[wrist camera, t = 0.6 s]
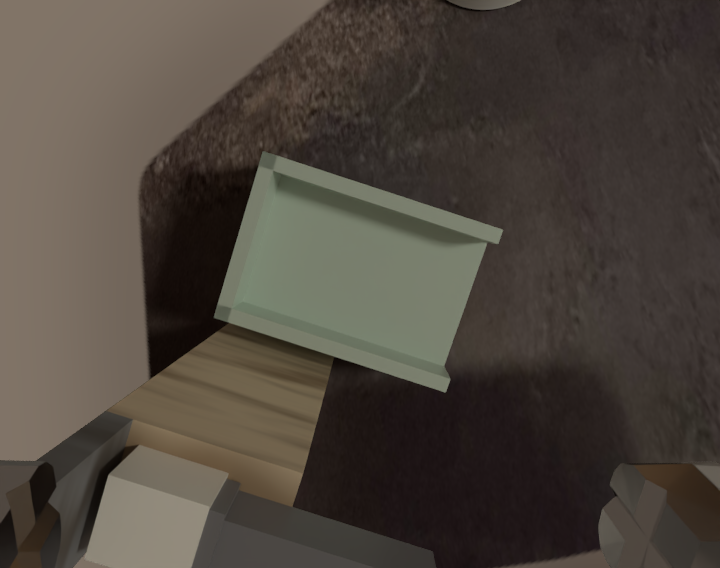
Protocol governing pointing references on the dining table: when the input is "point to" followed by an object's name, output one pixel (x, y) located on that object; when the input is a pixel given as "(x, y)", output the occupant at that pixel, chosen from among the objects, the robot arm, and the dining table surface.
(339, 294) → the bin
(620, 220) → the dining table surface
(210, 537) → the grey square bar
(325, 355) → the stand
